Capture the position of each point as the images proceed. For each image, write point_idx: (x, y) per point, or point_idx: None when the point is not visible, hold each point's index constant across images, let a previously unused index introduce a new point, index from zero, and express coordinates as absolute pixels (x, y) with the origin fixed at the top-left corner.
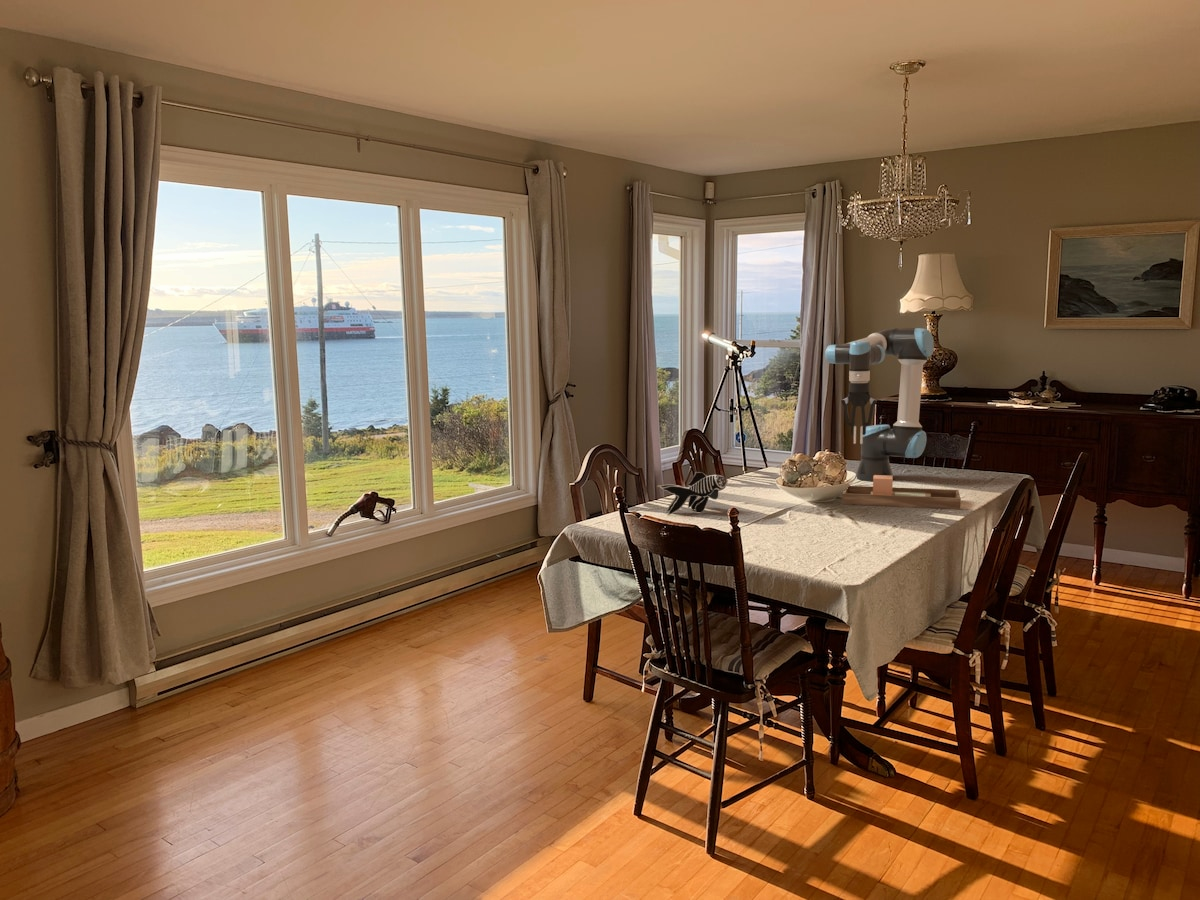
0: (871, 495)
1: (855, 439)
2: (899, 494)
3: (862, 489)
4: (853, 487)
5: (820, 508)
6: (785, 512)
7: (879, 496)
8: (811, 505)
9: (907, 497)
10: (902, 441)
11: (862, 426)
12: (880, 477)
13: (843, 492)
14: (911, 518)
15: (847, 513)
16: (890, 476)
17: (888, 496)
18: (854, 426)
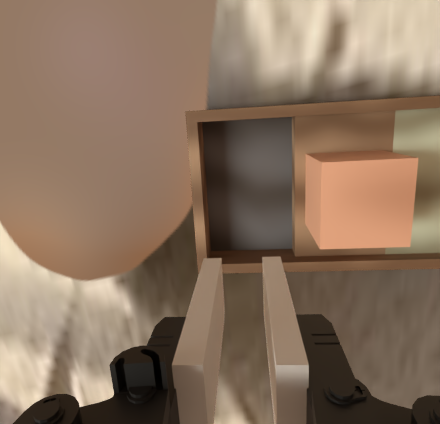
0: (303, 270)
1: (221, 337)
2: None
3: (260, 118)
4: (222, 120)
5: (149, 328)
6: (70, 390)
7: (332, 268)
8: (115, 297)
9: (437, 266)
10: None
11: (304, 409)
12: (354, 219)
13: (199, 251)
14: (417, 391)
15: (234, 370)
16: (405, 181)
17: (366, 269)
18: (184, 419)
